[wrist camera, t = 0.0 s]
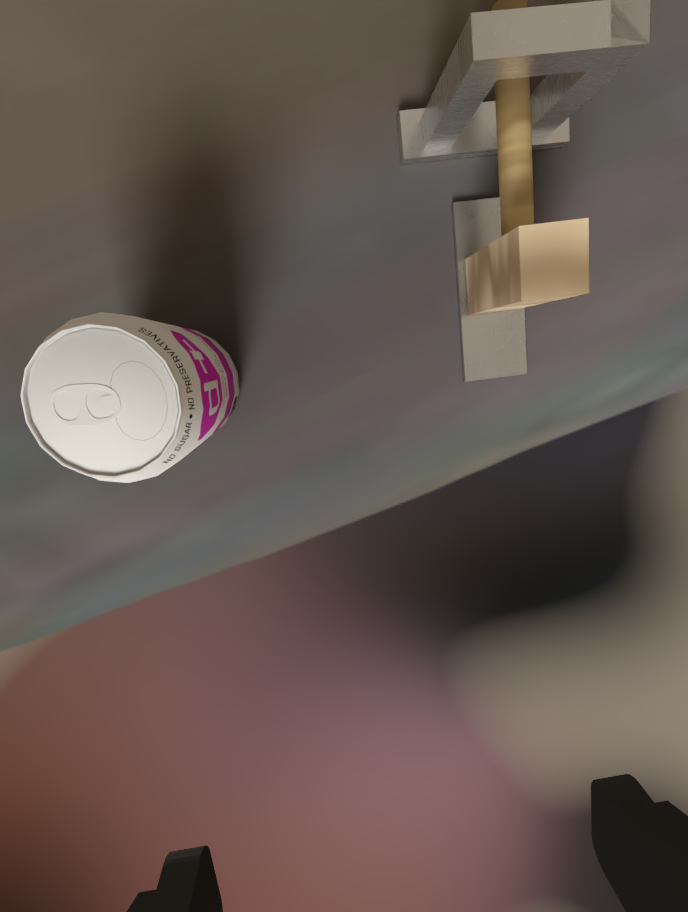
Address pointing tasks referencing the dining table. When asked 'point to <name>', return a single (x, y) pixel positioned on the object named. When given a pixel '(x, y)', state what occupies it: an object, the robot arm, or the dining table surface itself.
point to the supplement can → (126, 395)
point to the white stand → (552, 103)
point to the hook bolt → (524, 221)
